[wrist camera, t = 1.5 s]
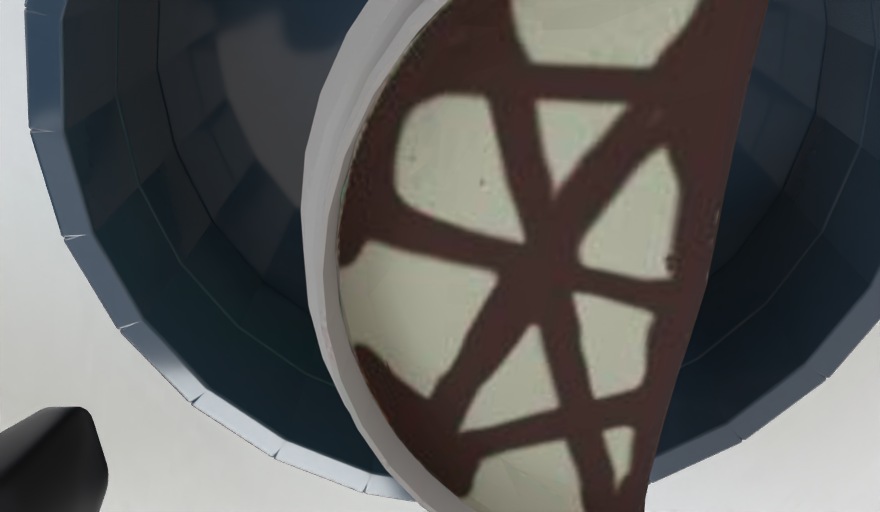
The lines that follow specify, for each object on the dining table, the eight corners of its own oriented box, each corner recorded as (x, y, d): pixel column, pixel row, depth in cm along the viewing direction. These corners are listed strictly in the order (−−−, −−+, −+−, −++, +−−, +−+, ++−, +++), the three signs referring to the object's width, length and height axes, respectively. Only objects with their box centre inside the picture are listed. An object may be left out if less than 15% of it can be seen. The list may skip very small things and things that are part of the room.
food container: (369, -211, 17) (260, -276, 8) (660, -187, 17) (872, -225, 8) (354, 297, 23) (279, 592, 14) (574, 315, 23) (643, 620, 14)
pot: (211, 385, 25) (147, 520, 20) (47, -303, 17) (-126, -365, 12) (798, 361, 24) (885, 497, 19) (911, -382, 16) (1113, -487, 11)
